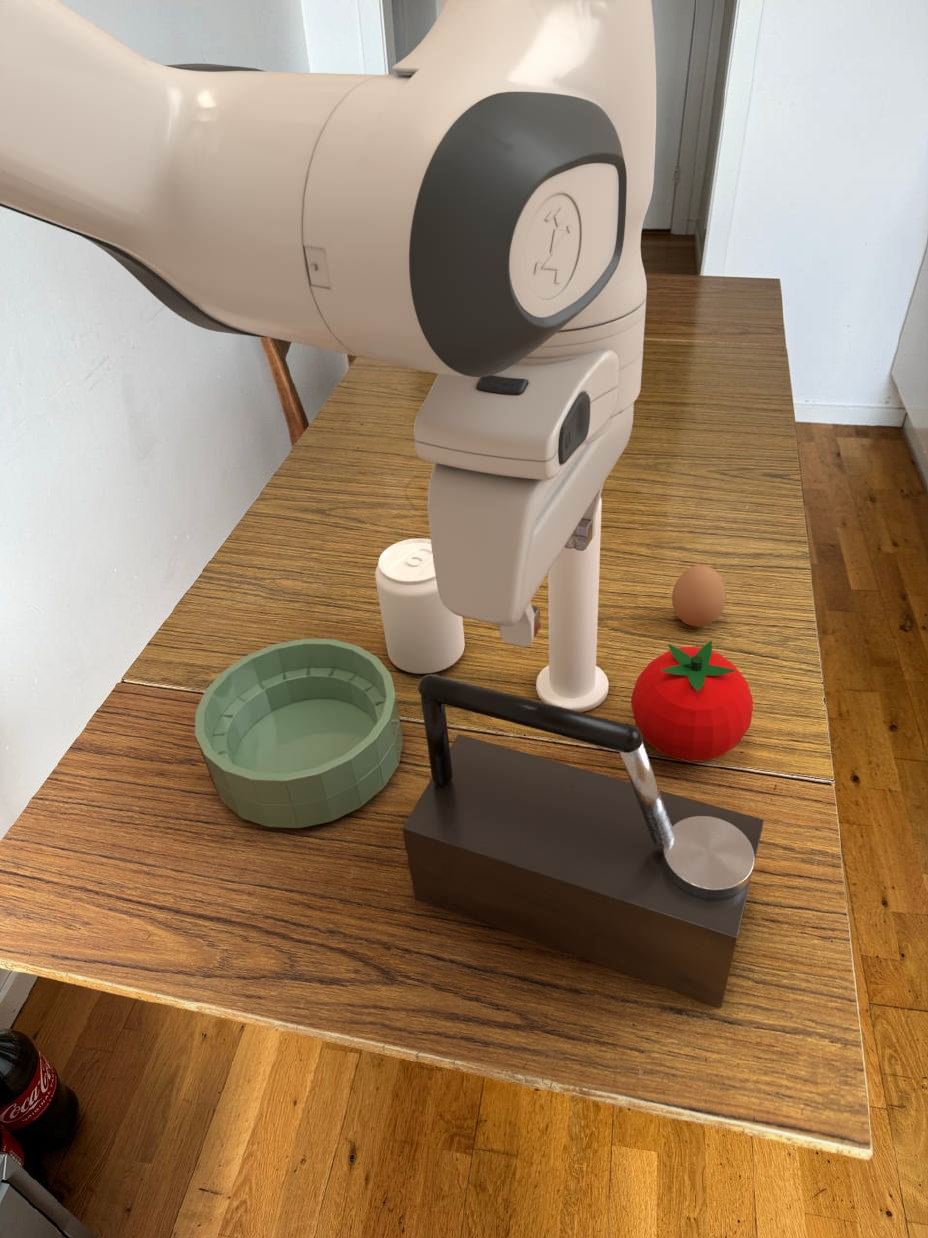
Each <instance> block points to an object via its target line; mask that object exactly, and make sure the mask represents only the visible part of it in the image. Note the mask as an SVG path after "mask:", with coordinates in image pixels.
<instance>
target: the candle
mask: <svg viewBox="0 0 928 1238" xmlns="http://www.w3.org/2000/svg"><path fill="white" fill-rule="evenodd" d="M602 503H603V501H602V496H601V497H600V501H599V505H598V509H597V513H596V516H595V535H594V537H593V539H592V540H591V541H590V543H589V545H588V546H587V548H586V549H585V550H583V551H580V550H576V549H575V548H571V549H569V548H565V547H564V548H563V550H562V551H561V553H560V554H559V556H558V558H557V559H556V561H555V562H554V564H553V566H552V567H551V569H550V571H549V572H548V574H547V588H548V589H547V591H548V592H547V595H548V596H547V597H548V599H547V602H548V603H547V604H548V605H547V606H548V612H547V613H548V665H546V666H545V667H543V668H542V669H541V670H540V672H539V673H538V675H537V676H536V681H535V689H536V692H537V696H538V697H539V699H540V701H541V702H543V703H546V704H550V705H554V706H558V707H562V708H566V709H570V710H574V711H578V712H581V713H584V712H588V711H590V710H593V709H595V708H597V707H599V706H600V705H601V704H602V703H603V702H604V701H605V699H606V698H607V696H608V693H609V685H610V684H609V679H608V676H607V675H606V673H605V672H604V671H603V670H602V669H601V668H600V667H599V666H597V652H598V651H597V649H598V647H597V646H598V620H599V617H598V616H599V593H600V589H599V588H600V566H601V565H600V563H601V537H602V535H601V533H602V506H603V505H602Z"/></svg>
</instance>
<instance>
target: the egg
mask: <svg viewBox="0 0 928 1238" xmlns="http://www.w3.org/2000/svg"><path fill="white" fill-rule="evenodd" d="M726 591H727V590H726V587H725V584H724V581H723V579H722V577H721V576H720V574H719V573H718V572H717V571H716V570H715V569H714V568H712V567H710V566H707V565H705V564H704V565H703V564H696V565H694V566H691V567H688V568H687V569H686V570H684V571H683V572H682V573H681V574H680V576H679V577H678V578H677V580H676V581H675V584H674V586H673V589H672V592H671V593H672V594H671V604H672V609H673V611H674V613H675V615H676V616H677V618H679V619H680V621H682V622H683V623H684V624H685V625H688V626H690V627H694V628H700V627H701V628H702V627H706V626H708V625H711V624H712V623H714V622H715V621H717V620H718V618H719V617H720V616H721V615H722V613H723V611H724V609H725V605H726V601H727V592H726Z"/></svg>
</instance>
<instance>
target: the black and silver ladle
mask: <svg viewBox="0 0 928 1238" xmlns="http://www.w3.org/2000/svg"><path fill="white" fill-rule="evenodd" d="M417 691H418V694H419V695H420V703H421V708H422V717H423V724H424V730H425V737H426V739H425V740H426V747H427V752H428V760H429V767H430V774H431V779H433V781H434V782H435V783H436V784H437V785H440V786H444V785H447V784H449V783H450V781H451V780H452V777H453V772H452V764H451V755H450V747H451V745H450V738H449V731H448V730H449V729H448V721H447V713H446V706H449V707H453V708H456V709H461V710H464V711H468V712H472V713H475V714H478V715H482V716H486V717H489V718H493V719H497V720H500V721H501V720H502V721H505V722H508V723H511V724H512V723H513V724H517V725H520V726H524V727H526V728H527V727H528V728H530V729H535V730H539V731H543V732H546V733H549V734H553V735H557V736H560V737H565V738H569V739H572V740H575V741H578V742H579V741H580V742H582V743H587V744H590V745H594V746H598V747H600V748H601V747H602V748H604V749H605V748H606V749H609V750H613V751H616V752H619V754H620V758H621V760H622V762H623V766H624V768H625V771H626V773H627V777H628V779H629V782H631V784H632V787H633V790H634V793H635V795H636V798H637V801H638V803H639V806H640V809H641V812H642V814H643V817H644V820H645V822H646V825H647V828H648V831H649V833H650V836H651V839H652V841H653V842H654V844H656V845H657V846H659V847H663V851H662V862H663V866H664V869H665V871H666V873H667V875H668V876H669V878H670V879H671V880H672V882H673V883H674V884H675V885H676V886H678V887H679V888H680V889H682V890H683V891H685V892H686V893H688V894H690V895H693V896H695V897H699V898H702V899H709V900H719V899H725V898H729V897H732V896H734V895H736V894H738V893H739V892H741V891H742V890H743V889H744V888H745V887H746V886H747V884H748V883H749V881H750V882H751V880H752V876H753V872H754V867H755V863H754V861H755V862H756V859H755V857H754V851H753V848H752V845H751V843H750V841H749V840H748V838H747V837H746V836H745V835H744V834H743V832H741V831H740V830H739V829H738V828H737V827H735V826H734V825H732V824H731V823H729V822H727V821H724V820H722V819H719V818H715V817H710V816H694V817H689V818H686V819H683V820H681V821H679V822H678V823H676V824H675V825H674V826H672V825H671V822H670V819H669V816H668V813H667V810H666V808H665V805H664V802H663V799H662V796H661V793H660V791H661V790H660V787H659V785H658V782H657V779H656V777H655V773H654V771H653V767H652V764H651V761H650V758H649V756H648V753H647V751H646V748H645V745H644V742H643V735H642V733H641V732H640V730H639V729H638V727H637V726H634V725H632V724H629V723H624V722H620V721H616V720H612V719H608V718H605V717H600V716H597V715H593V714H588V713H584V712H578V711H574V710H570V709H566V708H562V707H558V706H554V705H550V704H546V703H544V702H543V701H539V700H534V699H531V698H527V697H523V696H518V695H515V694H511V693H507V692H504V691H499V690H495V689H491V688H488V687H483V686H479V685H477V684H472V683H469V682H464V681H460V680H458V679H457V680H456V679H454V678H453V679H452V678H449V677H444V676H441V675H437V674H434V673H428V674H425V675H424V676H423V677H421V678H420V679H419V682H418V684H417ZM750 879H751V880H750Z"/></svg>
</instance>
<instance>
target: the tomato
mask: <svg viewBox="0 0 928 1238" xmlns="http://www.w3.org/2000/svg"><path fill="white" fill-rule="evenodd" d="M667 646H668V648H669V650H668V651H666V652H664V653H663V654H661V655H660V656H657V657H656V658H655V659H653V660H651V661H649V663H648V664H647V665H646V666H645V668H644V669H643V670H642V672H641V673H640V674H639V675H638V677H637V678H636V681H635V683H634V687H633V690H632V694H631V699H630V701H631V702H630V704H631V711H632V716H633V721H634V723H635V727H636V728H637V729H638V730H639V731H640V732H641V734H642V737H643V738H644V739H645V741H646V742H647V743H648V744H650V745H651V746H652V747H653V748H654V749H656V750H657V751H658V752H660V753H662V754H664V755H665V756H668V757H671V758H672V759H675V760H680V761H681V760H682V761H686V762H705V761H708V760H712V759H715V758H718V757H721V756H724V755H725V754H726V753H728V752H730V751H731V750H733V749H734V748H735V747H736V746H738V745H739V744H740V742H741V741H742V739H743V738H744V736H745V735H746V733H747V732H748V731H749V728H750V726H751V723H752V718H753V710H754V699H753V696H752V693H751V690H750V686H749V683H748V682H747V678H745V676H744V675H743V674H742V673H741V671H740V670H739V669H738V668H737V667H736V666H735V664H734V663H732V662H731V661H730V660H728V659H727V658H726V657H724V656H723V655H721V654H720V653H719V652H716V651H713V641H712V640H709V641H708V642H707V643H706V644H705V645H703V646H702V647H697V646H680V647H675V646H674V645H672V644H670V643H668V644H667Z"/></svg>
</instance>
